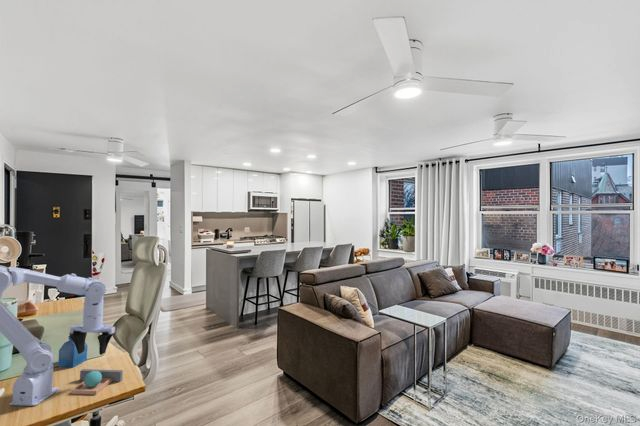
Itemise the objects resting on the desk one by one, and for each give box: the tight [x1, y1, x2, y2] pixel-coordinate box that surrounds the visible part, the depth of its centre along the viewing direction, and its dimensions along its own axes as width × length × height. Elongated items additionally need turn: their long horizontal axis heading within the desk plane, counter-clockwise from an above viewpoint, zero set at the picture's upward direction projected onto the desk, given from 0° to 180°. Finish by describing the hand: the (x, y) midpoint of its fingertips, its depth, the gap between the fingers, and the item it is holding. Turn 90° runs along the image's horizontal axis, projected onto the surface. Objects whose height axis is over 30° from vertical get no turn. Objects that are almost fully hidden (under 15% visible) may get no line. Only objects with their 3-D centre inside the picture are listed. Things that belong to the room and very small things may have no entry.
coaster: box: [70, 378, 113, 396], centre depth 108 cm, size 8×8×1 cm
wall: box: [79, 368, 124, 383], centre depth 112 cm, size 1×14×4 cm, turn 92°
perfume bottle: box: [57, 332, 88, 369], centre depth 124 cm, size 6×6×12 cm
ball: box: [84, 371, 102, 387], centre depth 108 cm, size 5×5×5 cm
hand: (91, 353), depth 112 cm, fingers open, 7 cm apart
